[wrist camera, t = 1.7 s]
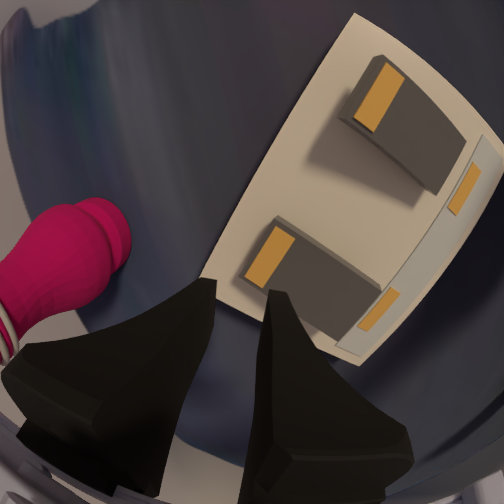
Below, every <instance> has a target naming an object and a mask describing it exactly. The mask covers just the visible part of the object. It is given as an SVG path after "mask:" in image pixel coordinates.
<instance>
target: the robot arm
mask: <svg viewBox="0 0 504 504" xmlns="http://www.w3.org/2000/svg"><path fill="white" fill-rule="evenodd" d="M216 290H217V280H215V279H210V278H205V277H200V278H198V279H197V280H195V281H194V282H192V283H191V284H190V285H188V286H187V287H185V288H184V289H182V290H181V291H179V292H178V293H176V294H175V295H173V296H172V297H170V298H168V299H167V300H165V301H164V302H162V303H160V304H158V305H157V306H155V307H153V308H151V309H150V310H148V311H146V312H144V313H142V314H140V315H138V316H136V317H134V318H131V319H129V320H127V321H124V322H122V323H120V324H117V325H114V326H111V327H108V328H105V329H102V330H99V331H96V332H93V333H89V334H86V335H82V336H78V337H73V338H68V339H63V340H57V341H49V342H40V343H28V344H26V345H25V346H24V347H23V348H22V349H21V350H20V351H19V352H18V353H17V355H16V356H15V357H14V358H13V359H12V360H11V361H10V362H9V363H8V365H7V366H6V367H5V368H4V369H3V370H2V372H1V380H2V383H3V385H4V387H5V389H6V391H7V392H8V394H9V395H10V396H11V398H12V400H13V401H14V402H15V404H16V405H17V407H18V408H19V409H20V411H21V412H22V413H23V415H24V416H25V417H26V418H27V420H26V421H25V423H24V424H23V426H22V427H21V428H20V427H18V426H17V425H16V424H14V423H13V422H12V421H11V420H9V419H8V418H7V417H6V416H4V414H2V413H1V412H0V504H90V503H88V502H86V501H85V500H83V499H82V498H80V497H79V496H77V495H76V494H75V493H74V492H72V491H71V490H69V489H68V488H66V487H64V486H63V485H61V484H60V483H58V482H57V481H55V480H54V479H52V475H51V473H52V474H54V475H55V476H57V477H58V478H60V479H62V480H63V481H65V482H67V483H68V484H70V485H72V486H73V487H75V488H77V489H79V490H81V491H82V492H84V493H86V494H88V495H90V496H92V497H94V498H96V499H98V500H100V501H103V502H105V503H107V504H170V503H167V502H163V501H160V500H157V499H154V498H155V497H157V496H159V493H160V488H161V483H162V479H163V474H164V470H165V466H166V462H167V458H168V454H169V450H170V446H171V443H172V439H173V435H174V432H175V428H176V425H177V421H178V418H179V415H180V412H181V408H182V405H183V402H184V399H185V397H186V394H187V392H188V389H189V387H190V385H191V383H192V380H193V378H194V376H195V374H196V371H197V369H198V367H199V365H200V362H201V360H202V358H203V355H204V353H205V351H206V349H207V346H208V343H209V339H210V336H211V333H212V329H213V326H214V316H215V303H216ZM414 462H415V461H414V456H413V451H412V446H411V442H410V438H409V435H408V432H407V429H406V427H405V426H404V425H402V424H401V423H399V422H397V421H396V420H394V419H393V418H391V417H390V416H388V415H387V414H385V413H384V412H382V411H381V410H379V409H378V408H376V407H375V406H374V405H372V404H371V403H370V402H369V401H367V400H366V399H365V398H364V397H362V396H361V395H360V394H359V393H358V392H357V391H355V390H354V389H353V388H352V387H351V386H350V385H349V384H348V383H347V382H346V381H345V380H344V379H343V378H342V377H341V376H340V375H339V374H338V373H337V372H336V371H335V370H334V369H333V368H332V367H331V365H330V364H329V363H328V362H327V361H326V359H325V358H324V357H323V356H322V354H321V353H320V352H319V350H318V349H317V347H316V346H315V344H314V343H313V341H312V340H311V338H310V337H309V335H308V333H307V332H306V330H305V328H304V327H303V325H302V323H301V321H300V319H299V317H298V316H297V314H296V311H295V309H294V307H293V305H292V303H291V301H290V298H289V295H288V294H287V292H284V291H278V290H272V289H269V292H268V297H267V302H266V307H265V312H264V317H263V322H262V327H261V332H260V338H259V345H258V351H257V360H256V382H255V403H254V415H253V422H252V428H251V434H250V440H249V445H248V451H247V457H246V462H245V468H244V473H243V478H242V483H241V489H240V493H239V498H238V503H237V504H380V502H383V501H384V500H385V498H386V496H385V488H386V487H387V486H389V485H390V484H392V483H393V482H395V481H396V480H398V479H399V478H400V477H402V476H403V475H404V474H405V473H407V472H408V471H409V470H410V468H411V467H412V465H413V464H414ZM50 472H51V473H50ZM428 504H504V477H503V474H502V471H501V470H498V471H496V472H494V473H492V474H490V475H488V476H486V477H484V478H482V479H480V480H478V481H476V482H474V483H473V484H471V485H470V486H468V487H466V488H465V489H463V491H462V492H459V493H457V494H454V495H451V496H449V497H446V498H443V499H440V500H437V501H434V502H431V503H428Z"/></svg>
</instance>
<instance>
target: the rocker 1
mask: <svg viewBox="0 0 504 504" xmlns="http://www.w3.org/2000/svg"><path fill="white" fill-rule="evenodd" d="M238 277H239V278H241V279H242V280H244V281H245V282H247V283H248V284H250V285H251V286H253V287H254V288H256V289H257V290H258V291H260V292H261V293H263V294H264V295H266V296H268V292H269V289H272V290H278V291H284V292H287V294H288V295H289V298H290V301H291V303H292V305H293V307H294V309H295V311H296V314H297V316H298V317H299V318H301V319H303V320H304V321H306V322H307V323H309V324H310V325H312V326H313V327H315V328H317V329H318V330H320V331H321V332H323V333H324V334H326V335H328V336H329V337H331V338H332V339H334V340H335V341H337V342H338V341H339V340H340V339H341V338H342V337H343V336H344V335H345V334H346V333H347V332H348V331H349V330H350V328H351V327H352V326H353V325H354V324H355V323H356V322H357V321H358V320H359V318H360V317H361V316H362V315H363V314H364V313H365V312H366V310H367V309H368V308H369V307H370V306H371V305H372V303H373V302H374V301H375V300H376V299H377V297H378V296H379V295H380V294H381V293H382V290H381V287H380V284H378V283H377V282H376V281H374V280H373V279H371V278H370V277H369V276H367V275H366V274H364V273H363V272H362V271H360V270H359V269H357V268H356V267H354V266H353V265H352V264H350V263H349V262H347V261H346V260H344V259H343V258H342V257H340V256H339V255H337V254H336V253H334V252H333V251H331V250H330V249H328V248H327V247H326V246H324V245H323V244H321V243H320V242H318V241H317V240H315V239H314V238H312V237H311V236H309V235H308V234H306V233H305V232H303V231H302V230H300V229H299V228H297V227H296V226H294V225H293V224H291V223H290V222H288V221H286V220H285V219H283V218H282V217H280V216H279V215H277V216H276V217H275V218H274V219H273V220H272V222H271V224H270V225H269V227H268V229H267V230H266V232H265V233H264V235H263V237H262V238H261V240H260V242H259V243H258V245H257V247H256V248H255V250H254V252H253V253H252V255H251V256H250V258H249V260H248V261H247V263H246V265H245V266H244V268H243V270H242V271H241V273H240V274H239V276H238Z"/></svg>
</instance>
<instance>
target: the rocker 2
mask: <svg viewBox="0 0 504 504" xmlns="http://www.w3.org/2000/svg"><path fill="white" fill-rule="evenodd" d="M336 118H338V119H339V120H341V121H342V122H344V123H345V124H346V125H348V126H349V127H351V128H352V129H353V130H355V131H356V132H358V133H359V134H360V135H362V136H363V137H364V138H366V139H367V140H368V141H369V142H371V143H372V144H373V145H375V146H376V147H377V148H378V149H380V150H381V151H382V152H383V153H385V154H386V155H387V156H388V157H389V158H391V159H392V160H393V161H394V162H395V163H397V164H398V165H399V166H400V167H401V168H402V169H403V170H405V171H406V172H407V173H408V174H409V175H410V176H411V177H412V178H413V179H415V180H416V181H417V182H418V183H419V184H420V185H421V186H422V187H423V188H424V189H425V190H426V191H428V192H430V193H431V194H433V195H435V196H437V194H438V193H439V191H440V189H441V188H442V186H443V184H444V183H445V181H446V179H447V177H448V176H449V174H450V172H451V170H452V169H453V167H454V165H455V163H456V161H457V159H458V158H459V156H460V154H461V152H462V150H463V148H464V146H465V144H466V142H467V141H466V140H465V138H464V137H463V136H462V135H461V133H460V132H459V131H458V129H457V128H456V127H455V126H454V125H453V123H452V122H451V121H450V120H449V119H448V117H447V116H446V115H445V114H444V113H443V112H442V111H441V109H440V108H439V107H438V106H437V105H436V104H435V103H434V102H433V101H432V100H431V98H430V97H429V96H428V95H427V94H426V93H425V92H424V91H423V90H422V89H421V88H420V87H419V86H418V85H417V84H416V83H415V82H414V81H413V80H412V79H410V78H409V77H408V76H407V75H406V74H405V73H404V72H403V71H402V70H401V69H400V68H398V67H397V66H396V65H395V64H394V63H393V62H392V61H390V60H389V59H388V58H387V57H386V56H384V55H383V54H382V55H378V56H374V57H373V58H372V60H371V61H370V63H369V65H368V66H367V68H366V70H365V71H364V73H363V74H362V76H361V78H360V79H359V81H358V83H357V84H356V86H355V88H354V89H353V91H352V93H351V94H350V96H349V98H348V99H347V101H346V103H345V104H344V106H343V107H342V109H341V111H340V112H339V114H338V116H337V117H336Z"/></svg>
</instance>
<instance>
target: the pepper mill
mask: <svg viewBox="0 0 504 504" xmlns="http://www.w3.org/2000/svg"><path fill="white" fill-rule="evenodd" d="M130 250H131V234H130V229H129V226H128V223H127V221H126V219H125V217H124V216H123V214H122V213H121V211H120V210H119V209H118V208H117V207H116V206H115V205H114V204H112V203H111V202H109V201H108V200H105V199H103V198H98V197H94V198H89V199H86V200H84V201H81V202H79V203H77V204H75V205H70V204H61V205H57V206H54V207H52V208H50V209H48V210H46V211H45V212H43V213H42V214H40V215H39V216H38V217H37V218H36V219H35V220H34V221H33V222H32V223H31V224H30V225H29V226H28V228H27V229H26V231H25V232H24V234H23V235H22V236H21V238H20V239H19V241H18V242H17V244H16V245H15V247H14V248H13V249H12V250H11V252H10V253H9V254H8V255H7V256H6V257H5V258H4V260H2V261H1V262H0V365H2V366H6V365H8V363H9V361H10V358H11V357H12V356H15V355H17V353H18V352H19V340H20V339H21V338H22V337H23V335H24V334H25V333H26V332H27V331H28V330H29V329H30V328H31V327H33V326H34V325H35V324H37V323H38V322H39V321H41V320H43V319H45V318H47V317H49V316H52V315H55V314H58V313H62V312H66V311H70V310H74V309H78V308H80V307H82V306H84V305H86V304H88V303H90V302H91V301H92V300H94V299H95V298H96V297H97V296H99V295H100V294H101V293H102V292H103V291H104V290H105V288H106V287H107V285H108V282H109V280H110V276H111V274H112V273H114V272H115V271H116V270H117V269H118V268H119V267H120V266H121V265H123V264H124V263H125V261H126V260H127V258H128V256H129V254H130Z"/></svg>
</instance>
